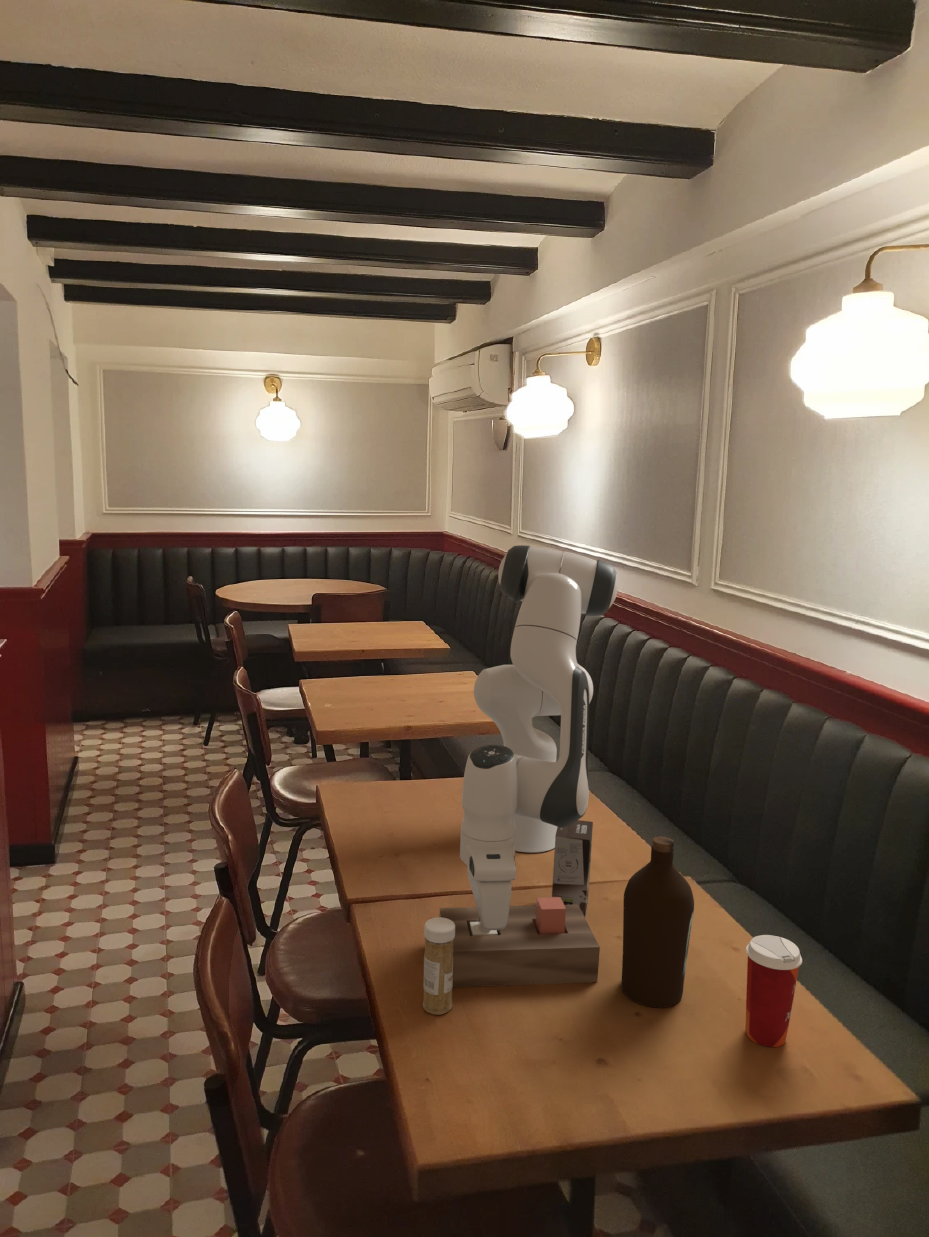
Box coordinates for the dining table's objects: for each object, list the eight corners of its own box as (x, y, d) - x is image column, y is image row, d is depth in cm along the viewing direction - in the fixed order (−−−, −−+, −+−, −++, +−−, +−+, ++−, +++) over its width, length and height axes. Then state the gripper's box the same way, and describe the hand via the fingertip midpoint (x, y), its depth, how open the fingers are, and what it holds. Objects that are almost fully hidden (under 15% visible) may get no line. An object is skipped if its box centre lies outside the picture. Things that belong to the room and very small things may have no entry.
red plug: (534, 930, 151) (536, 897, 150) (558, 929, 152) (560, 896, 151) (539, 942, 147) (541, 909, 146) (563, 941, 148) (565, 908, 147)
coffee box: (585, 925, 162) (590, 840, 159) (549, 920, 163) (554, 836, 160) (589, 902, 171) (594, 820, 168) (554, 897, 172) (559, 816, 169)
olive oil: (627, 1011, 137) (638, 855, 133) (610, 972, 147) (620, 826, 143) (696, 1010, 138) (709, 855, 133) (674, 971, 148) (686, 826, 144)
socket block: (438, 940, 155) (439, 907, 154) (576, 936, 158) (578, 904, 157) (446, 987, 141) (448, 951, 140) (597, 981, 144) (599, 946, 143)
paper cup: (804, 1047, 130) (814, 957, 127) (758, 1055, 128) (767, 963, 125) (771, 1015, 137) (780, 929, 135) (727, 1022, 135) (735, 935, 133)
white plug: (468, 954, 151) (469, 921, 150) (492, 953, 151) (493, 921, 150) (471, 967, 147) (472, 934, 146) (496, 966, 147) (497, 933, 146)
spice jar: (457, 1012, 135) (460, 928, 133) (428, 1018, 133) (431, 933, 131) (444, 995, 139) (447, 913, 137) (417, 1001, 137) (419, 919, 135)
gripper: (460, 822, 155) (457, 898, 158) (476, 876, 135) (473, 961, 138) (496, 822, 156) (493, 897, 158) (518, 875, 136) (514, 960, 138)
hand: (484, 927), depth 148 cm, fingers closed, pressing on white plug
